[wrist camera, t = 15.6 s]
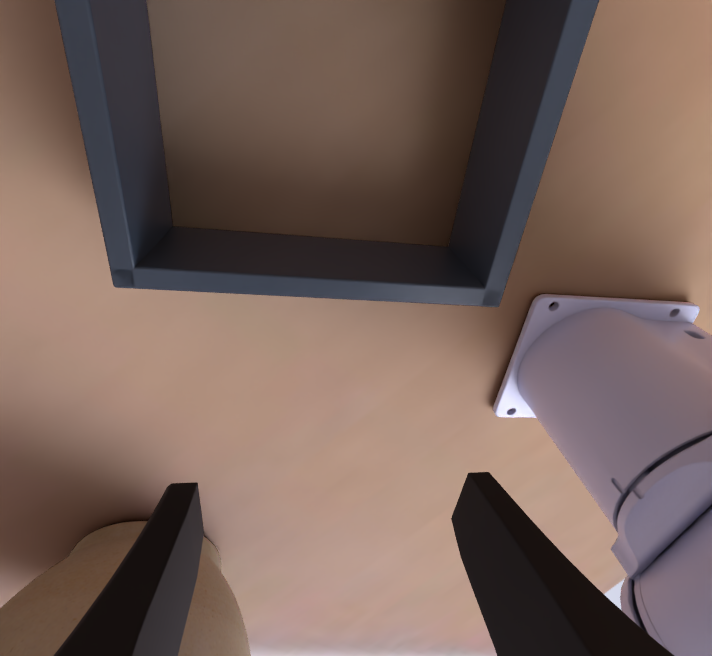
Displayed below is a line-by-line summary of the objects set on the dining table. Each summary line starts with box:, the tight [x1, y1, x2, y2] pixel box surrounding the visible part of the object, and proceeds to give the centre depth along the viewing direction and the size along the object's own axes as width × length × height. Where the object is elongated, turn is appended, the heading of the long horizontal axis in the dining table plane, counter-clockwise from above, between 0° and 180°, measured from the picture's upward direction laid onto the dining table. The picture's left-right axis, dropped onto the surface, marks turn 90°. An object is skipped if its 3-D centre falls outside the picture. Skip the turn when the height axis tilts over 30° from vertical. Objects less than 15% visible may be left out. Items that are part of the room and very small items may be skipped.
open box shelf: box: [55, 0, 599, 307], centre depth 13 cm, size 14×12×4 cm
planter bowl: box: [0, 521, 251, 656], centre depth 24 cm, size 16×16×11 cm
